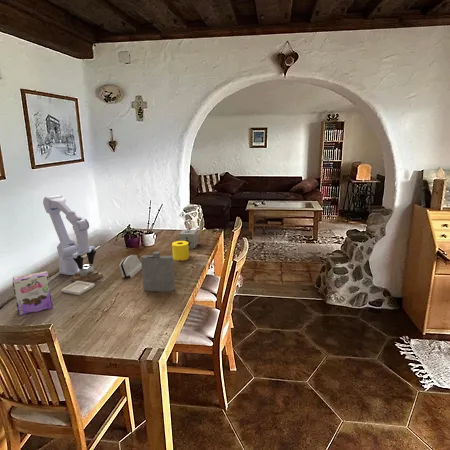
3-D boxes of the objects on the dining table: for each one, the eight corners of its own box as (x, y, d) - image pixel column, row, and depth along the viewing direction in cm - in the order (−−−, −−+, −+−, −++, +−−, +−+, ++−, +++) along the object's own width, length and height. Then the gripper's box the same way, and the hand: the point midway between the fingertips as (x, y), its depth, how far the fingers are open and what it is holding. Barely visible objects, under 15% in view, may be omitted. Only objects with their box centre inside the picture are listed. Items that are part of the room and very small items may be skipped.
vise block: (70, 280, 189) (69, 270, 188) (83, 273, 198) (82, 264, 197) (89, 283, 184) (88, 274, 183) (102, 276, 193) (101, 267, 192)
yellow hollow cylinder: (187, 260, 215) (187, 245, 212) (171, 260, 215) (170, 245, 213) (189, 254, 225) (189, 240, 222) (174, 254, 225) (173, 240, 222)
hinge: (131, 278, 191) (123, 261, 189) (123, 280, 192) (116, 263, 190) (144, 266, 207) (137, 251, 205) (137, 268, 208) (130, 253, 206)
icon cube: (183, 243, 247) (182, 229, 244) (197, 243, 246) (197, 230, 243) (179, 248, 237) (179, 233, 235) (194, 248, 236) (193, 234, 233)
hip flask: (175, 288, 178) (173, 251, 172) (173, 292, 174) (171, 253, 168) (144, 287, 179) (141, 250, 174) (142, 291, 175) (139, 253, 170)
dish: (61, 292, 175) (61, 289, 175) (78, 283, 185) (77, 280, 185) (79, 295, 172) (78, 292, 171) (94, 286, 182) (94, 283, 181)
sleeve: (80, 276, 189) (78, 267, 188) (86, 272, 194) (85, 264, 192) (87, 277, 187) (86, 268, 186) (94, 273, 192) (93, 265, 191)
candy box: (18, 316, 153) (11, 281, 149) (18, 310, 158) (12, 276, 154) (53, 308, 159) (47, 274, 155) (52, 303, 164) (47, 270, 160)
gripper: (78, 247, 178) (82, 272, 181) (98, 238, 191) (101, 262, 194) (68, 245, 180) (71, 270, 184) (88, 237, 193) (91, 261, 197)
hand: (86, 266), depth 189 cm, fingers open, 7 cm apart
